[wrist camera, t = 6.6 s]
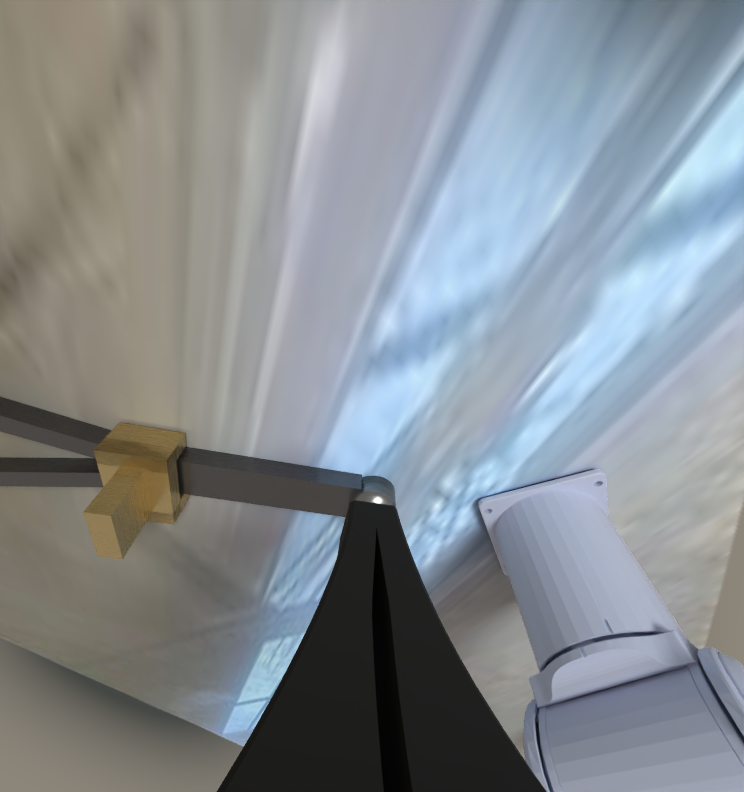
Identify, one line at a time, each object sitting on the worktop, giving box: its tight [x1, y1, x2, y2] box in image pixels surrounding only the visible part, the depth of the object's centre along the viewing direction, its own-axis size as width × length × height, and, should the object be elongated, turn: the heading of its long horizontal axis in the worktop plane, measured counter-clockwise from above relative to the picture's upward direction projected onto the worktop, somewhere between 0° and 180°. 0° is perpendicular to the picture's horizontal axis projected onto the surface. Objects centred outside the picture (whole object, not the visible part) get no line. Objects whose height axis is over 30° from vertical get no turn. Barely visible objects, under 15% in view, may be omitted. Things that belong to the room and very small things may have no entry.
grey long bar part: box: [0, 397, 396, 517], centre depth 22 cm, size 30×9×2 cm, turn 77°
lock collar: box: [83, 422, 190, 559], centre depth 20 cm, size 4×5×5 cm, turn 167°
